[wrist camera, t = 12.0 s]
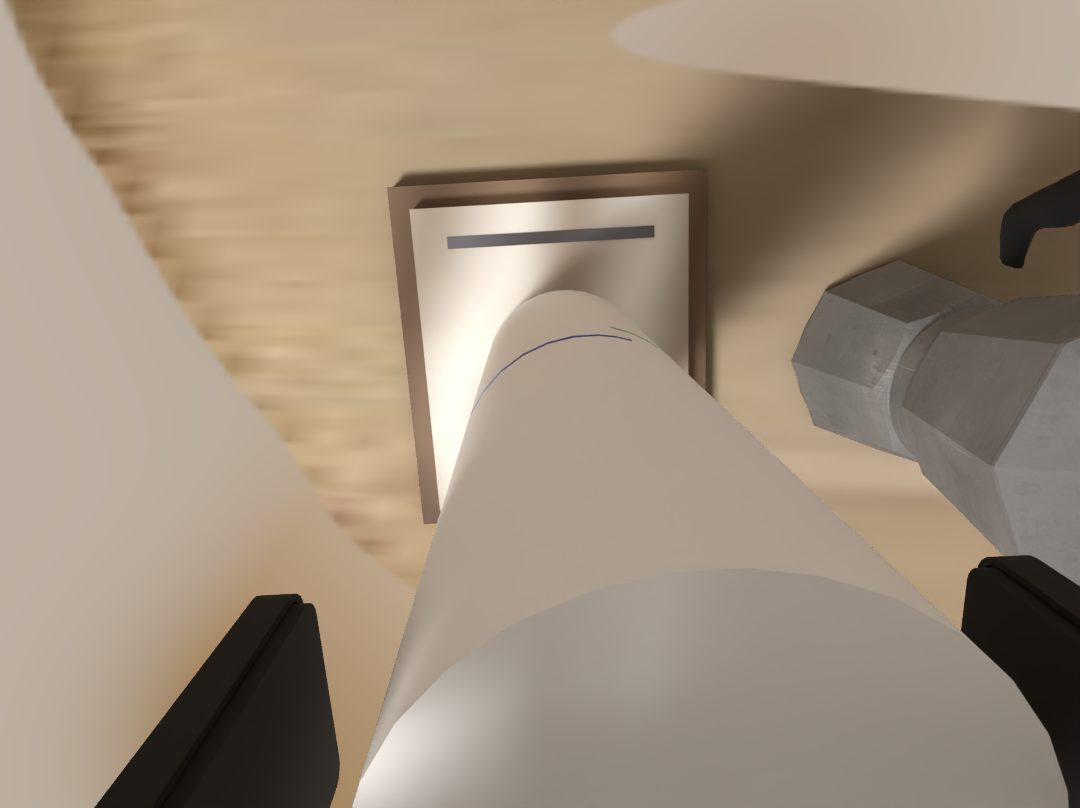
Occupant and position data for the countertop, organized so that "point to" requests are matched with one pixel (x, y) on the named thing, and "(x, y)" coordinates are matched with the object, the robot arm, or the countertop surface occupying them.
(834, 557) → the cylindrical container
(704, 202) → the notepad
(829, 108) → the countertop surface
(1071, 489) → the coffeepot
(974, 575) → the robot arm
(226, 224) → the countertop surface
